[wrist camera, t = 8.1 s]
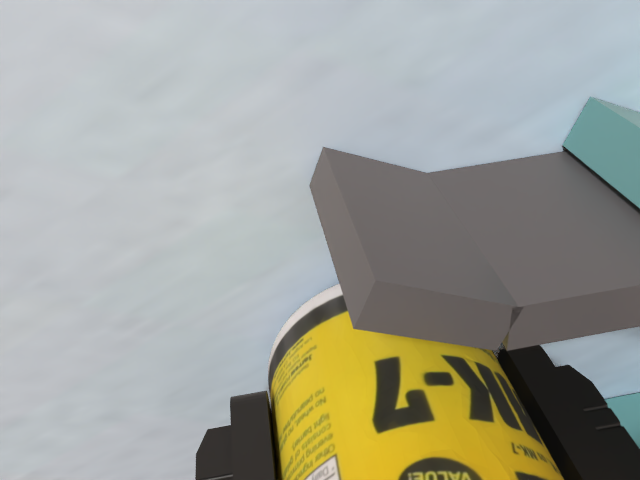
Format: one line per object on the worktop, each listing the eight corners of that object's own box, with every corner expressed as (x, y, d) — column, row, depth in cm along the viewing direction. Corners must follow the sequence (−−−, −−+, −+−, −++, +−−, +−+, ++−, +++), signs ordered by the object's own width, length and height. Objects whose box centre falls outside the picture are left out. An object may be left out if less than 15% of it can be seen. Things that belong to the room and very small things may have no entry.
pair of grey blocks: (578, 107, 11) (739, 217, 8) (522, 452, 17) (599, 600, 13) (304, 149, 11) (350, 284, 7) (344, 488, 16) (378, 649, 13)
